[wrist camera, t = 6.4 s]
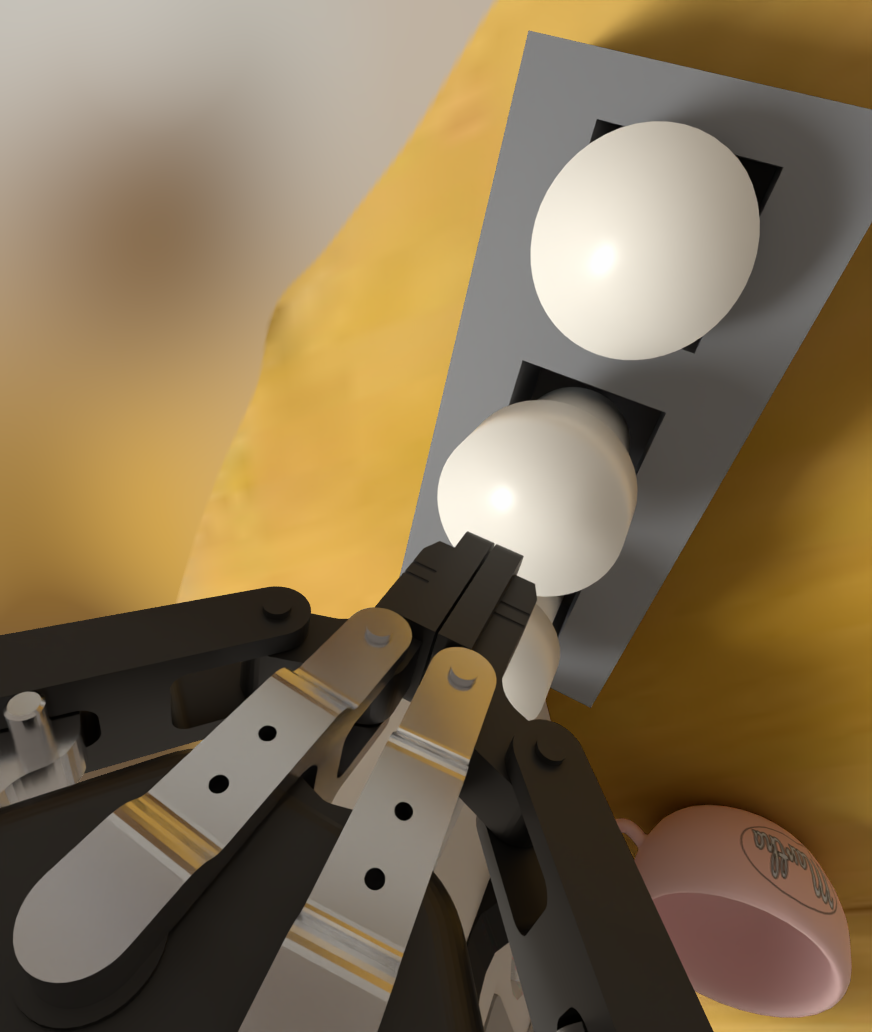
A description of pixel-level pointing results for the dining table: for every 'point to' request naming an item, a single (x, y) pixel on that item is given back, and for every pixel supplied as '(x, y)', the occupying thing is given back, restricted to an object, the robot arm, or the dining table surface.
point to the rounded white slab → (465, 897)
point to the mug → (746, 910)
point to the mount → (678, 375)
